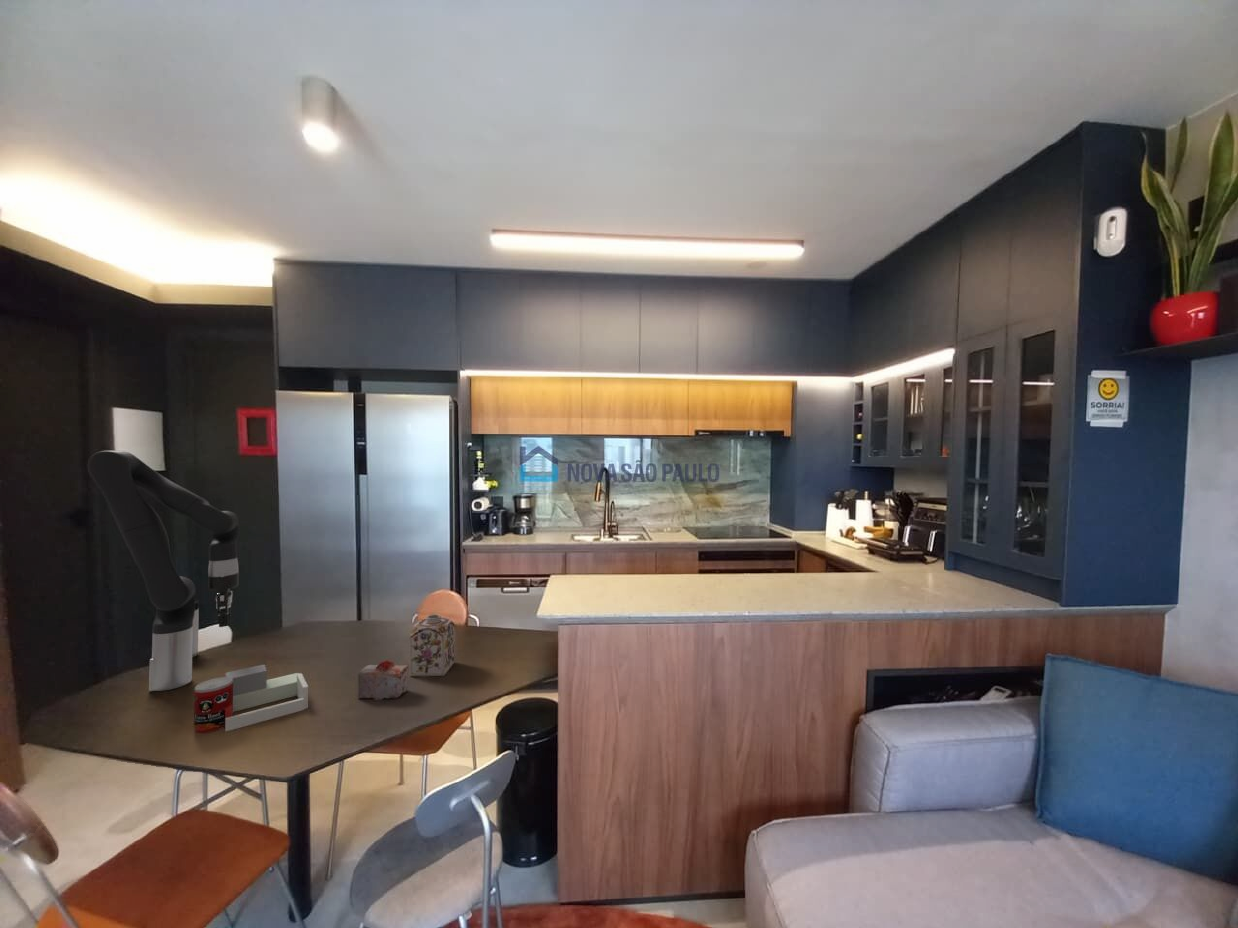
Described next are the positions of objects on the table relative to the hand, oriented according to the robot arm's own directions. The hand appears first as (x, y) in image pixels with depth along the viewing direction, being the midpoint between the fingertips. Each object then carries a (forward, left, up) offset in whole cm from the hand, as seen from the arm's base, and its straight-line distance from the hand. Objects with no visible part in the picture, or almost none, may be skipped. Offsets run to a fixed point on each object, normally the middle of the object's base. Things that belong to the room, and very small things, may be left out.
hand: (224, 622), depth 154 cm
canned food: (+3, -36, -18) cm, 40 cm away
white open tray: (+13, -31, -18) cm, 37 cm away
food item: (+43, -40, -18) cm, 62 cm away
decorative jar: (+59, -28, -18) cm, 68 cm away
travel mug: (-15, +30, -18) cm, 38 cm away
